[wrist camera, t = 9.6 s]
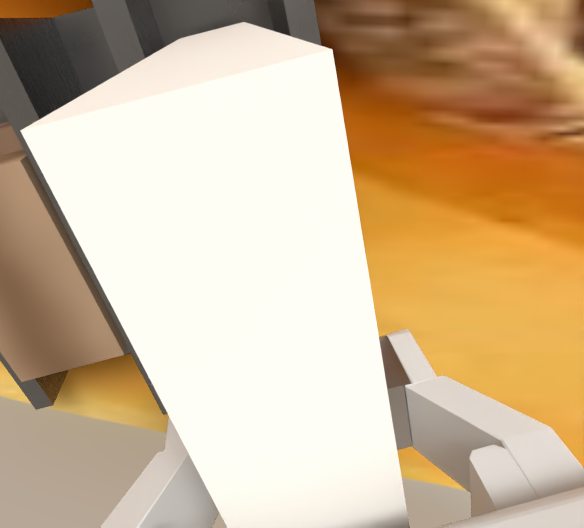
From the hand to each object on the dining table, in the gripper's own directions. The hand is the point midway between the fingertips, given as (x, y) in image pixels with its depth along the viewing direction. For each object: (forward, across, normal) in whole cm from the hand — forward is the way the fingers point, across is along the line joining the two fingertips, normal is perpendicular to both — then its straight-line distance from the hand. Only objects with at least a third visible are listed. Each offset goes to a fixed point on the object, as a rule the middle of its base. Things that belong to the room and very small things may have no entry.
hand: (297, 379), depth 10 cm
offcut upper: (+13, -11, -1) cm, 17 cm away
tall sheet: (+11, 0, 0) cm, 11 cm away
